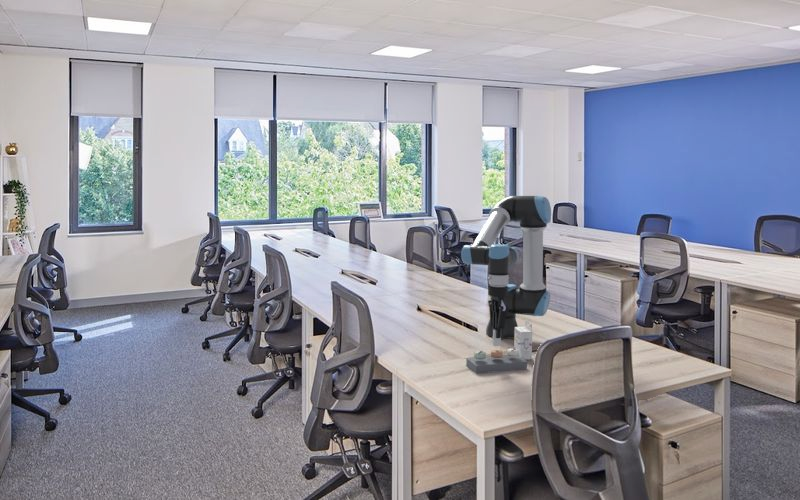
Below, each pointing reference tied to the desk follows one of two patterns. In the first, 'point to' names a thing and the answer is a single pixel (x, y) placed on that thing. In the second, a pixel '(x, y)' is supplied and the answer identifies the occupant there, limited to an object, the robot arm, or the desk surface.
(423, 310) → the desk surface
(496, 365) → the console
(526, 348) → the ink cartridge box
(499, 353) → the terracotta button
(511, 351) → the cream button
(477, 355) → the sage button
